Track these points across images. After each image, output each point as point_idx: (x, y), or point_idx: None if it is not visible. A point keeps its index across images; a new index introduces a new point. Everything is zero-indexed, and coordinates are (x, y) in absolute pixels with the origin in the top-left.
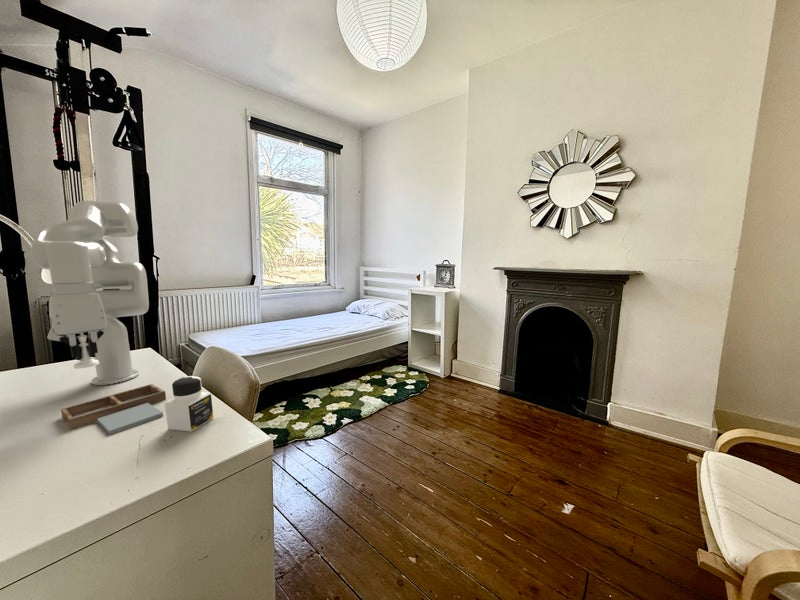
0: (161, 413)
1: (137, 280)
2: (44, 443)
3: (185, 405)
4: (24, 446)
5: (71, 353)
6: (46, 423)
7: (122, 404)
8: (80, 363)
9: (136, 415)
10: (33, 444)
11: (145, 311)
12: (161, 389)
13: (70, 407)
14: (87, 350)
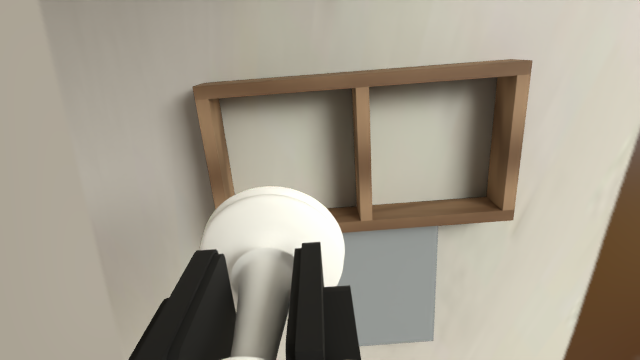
0: (429, 339)
1: None
2: (173, 267)
3: None
4: (130, 246)
5: (157, 317)
6: (161, 95)
7: (368, 230)
8: (235, 294)
9: (378, 304)
10: (149, 251)
11: None
12: (516, 184)
13: (223, 97)
14: (280, 340)
